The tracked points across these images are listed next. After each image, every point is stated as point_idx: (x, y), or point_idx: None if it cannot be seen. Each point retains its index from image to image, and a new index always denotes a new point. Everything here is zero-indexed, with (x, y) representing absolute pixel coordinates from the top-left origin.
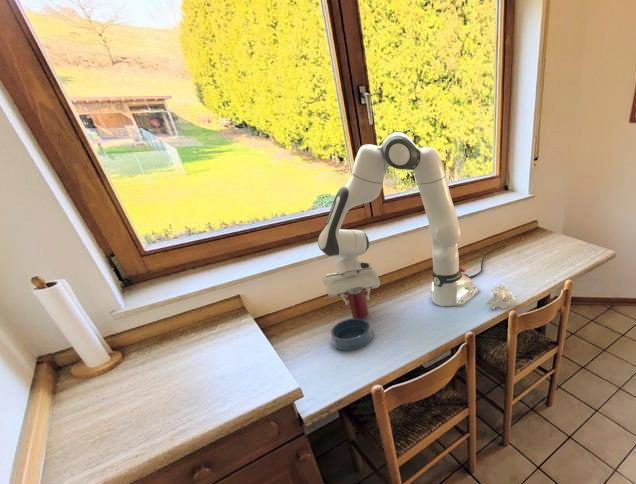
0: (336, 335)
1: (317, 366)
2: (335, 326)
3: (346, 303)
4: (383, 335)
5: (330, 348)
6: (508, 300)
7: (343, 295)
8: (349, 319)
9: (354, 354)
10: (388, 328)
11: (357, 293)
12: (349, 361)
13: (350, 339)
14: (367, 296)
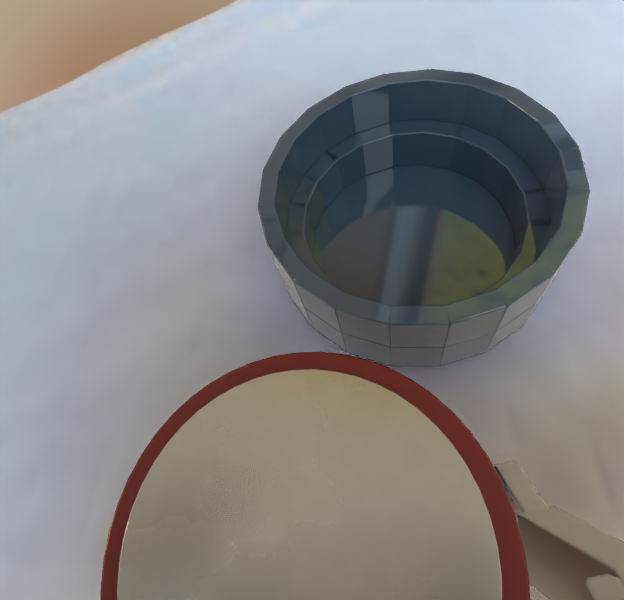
0: (533, 215)
1: (583, 53)
2: (563, 227)
3: (506, 466)
4: (208, 251)
5: None
6: None
7: (609, 587)
8: (440, 313)
9: None
10: (162, 323)
11: (261, 376)
12: None
13: (399, 73)
14: None
